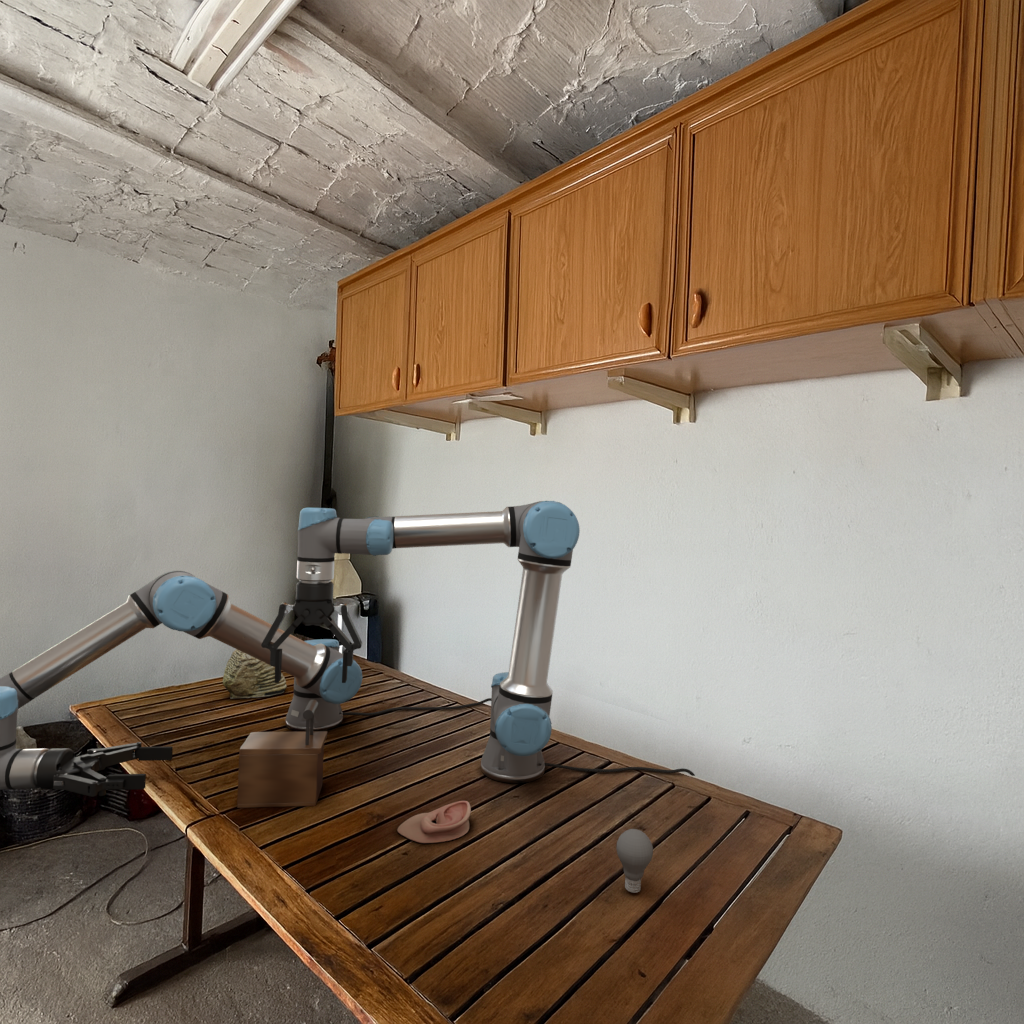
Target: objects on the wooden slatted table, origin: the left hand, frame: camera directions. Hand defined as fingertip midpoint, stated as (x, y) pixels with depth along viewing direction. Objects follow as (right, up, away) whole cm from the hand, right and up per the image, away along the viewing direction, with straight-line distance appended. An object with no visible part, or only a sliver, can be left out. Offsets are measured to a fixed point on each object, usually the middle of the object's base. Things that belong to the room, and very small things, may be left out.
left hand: (159, 766), depth 129 cm
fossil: (-8, -5, +69) cm, 69 cm away
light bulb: (+92, -11, -24) cm, 96 cm away
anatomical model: (+57, -9, -7) cm, 58 cm away
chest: (+24, -8, +4) cm, 25 cm away
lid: (+24, +3, +4) cm, 25 cm away
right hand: (+30, +16, +4) cm, 34 cm away
